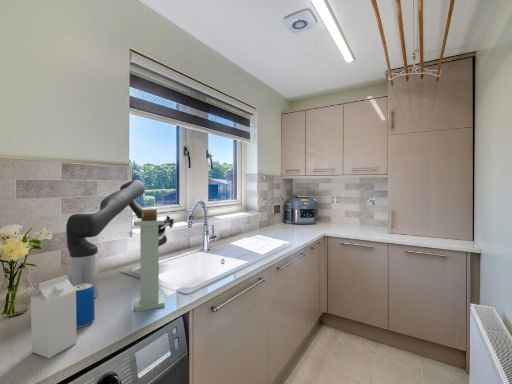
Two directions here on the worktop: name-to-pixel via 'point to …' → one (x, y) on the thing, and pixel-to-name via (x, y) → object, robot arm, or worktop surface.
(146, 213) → the walnut rail
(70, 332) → the milk carton
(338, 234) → the worktop surface
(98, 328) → the worktop surface
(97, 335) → the worktop surface
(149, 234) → the shelf stand
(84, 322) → the beverage can
